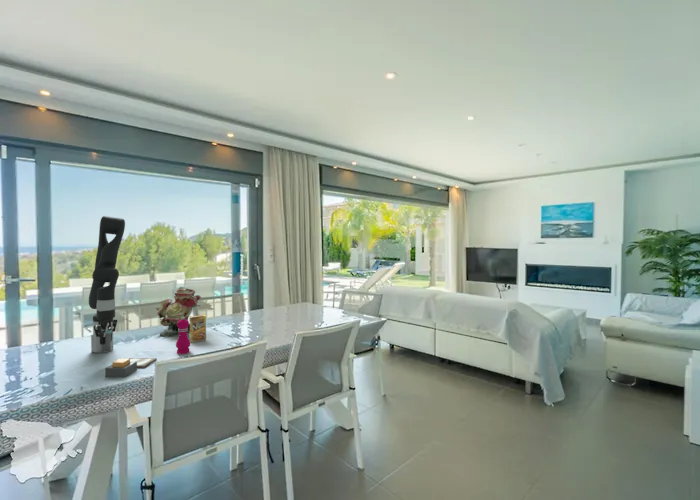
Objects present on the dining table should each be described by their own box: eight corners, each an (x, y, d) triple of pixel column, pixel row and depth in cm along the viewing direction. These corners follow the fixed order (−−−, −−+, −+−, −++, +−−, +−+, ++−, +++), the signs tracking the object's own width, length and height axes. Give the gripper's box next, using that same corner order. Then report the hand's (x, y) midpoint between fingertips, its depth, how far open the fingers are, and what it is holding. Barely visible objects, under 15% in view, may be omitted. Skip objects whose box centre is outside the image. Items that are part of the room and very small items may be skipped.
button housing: (105, 377, 159) (105, 368, 159) (117, 369, 168) (117, 361, 168) (125, 377, 159) (125, 368, 159) (136, 369, 168) (136, 361, 168)
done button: (112, 371, 161) (112, 362, 161) (119, 367, 166) (119, 358, 166) (123, 371, 161) (123, 362, 161) (130, 367, 166) (130, 358, 166)
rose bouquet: (159, 328, 243) (158, 285, 242) (204, 325, 252) (204, 284, 251) (150, 338, 219) (150, 291, 218) (201, 335, 228) (200, 289, 227)
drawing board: (115, 367, 170) (115, 365, 170) (129, 360, 181) (129, 357, 181) (144, 368, 170) (144, 365, 170) (156, 360, 181) (156, 358, 181)
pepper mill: (176, 355, 189) (175, 318, 188) (175, 351, 196) (175, 315, 195) (190, 353, 192) (190, 317, 192) (189, 349, 199) (189, 314, 198)
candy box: (190, 342, 212) (190, 317, 211) (189, 340, 215) (189, 316, 215) (206, 340, 217) (206, 315, 216) (204, 338, 220) (204, 314, 220)
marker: (98, 351, 171) (98, 331, 171) (104, 348, 175) (104, 329, 175) (107, 351, 171) (107, 331, 171) (113, 349, 175) (113, 329, 175)
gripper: (108, 305, 179) (108, 338, 180) (87, 311, 165) (87, 347, 166) (122, 305, 179) (122, 338, 180) (103, 311, 165) (103, 347, 166)
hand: (105, 342), depth 173 cm, fingers closed on marker, 4 cm apart
